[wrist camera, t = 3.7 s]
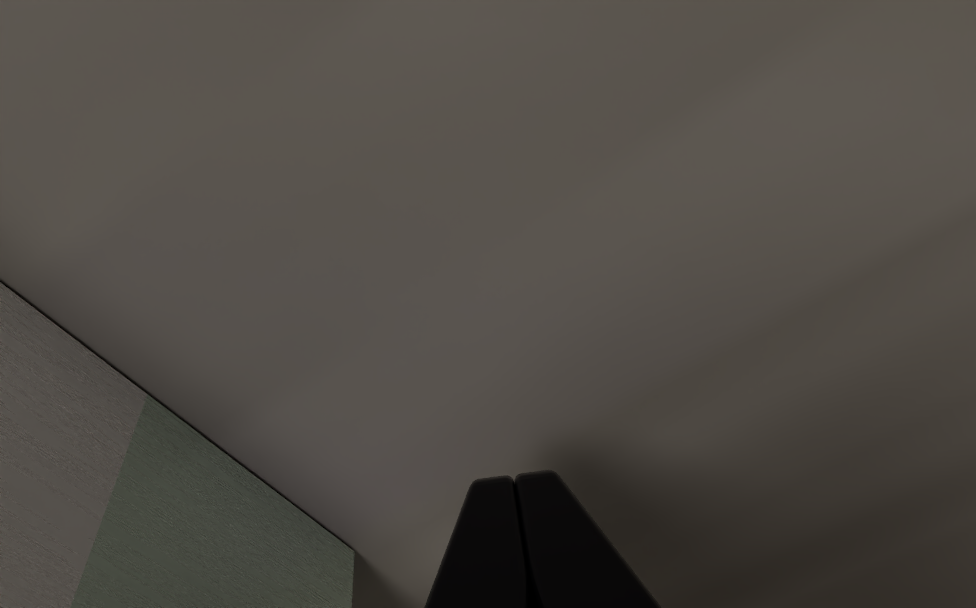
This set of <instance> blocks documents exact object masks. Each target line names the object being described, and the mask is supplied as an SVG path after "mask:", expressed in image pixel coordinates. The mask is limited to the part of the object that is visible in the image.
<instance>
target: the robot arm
mask: <svg viewBox="0 0 976 608" xmlns="http://www.w3.org/2000/svg"><path fill="white" fill-rule="evenodd" d="M514 484H515V485H514ZM425 608H661V607H660V605H659V604H658V603H657V601H656V600H655V599H654V598H653V596H652V595H651V594H650V592H649V591H648V590H647V588H646V587H645V586H644V585H643V583H642V582H641V581H640V579H639V578H638V577H637V576H636V574H635V573H634V572H633V570H632V569H631V568H630V567H629V565H628V564H627V563H626V561H625V560H624V559H623V557H622V556H621V555H620V554H619V552H618V551H617V550H616V548H615V547H614V546H613V545H612V543H611V542H610V541H609V539H608V538H607V537H606V536H605V534H604V533H603V532H602V530H601V529H600V528H599V526H598V525H597V524H596V523H595V521H594V520H593V519H592V517H591V516H590V515H589V514H588V512H587V511H586V510H585V508H584V507H583V506H582V504H581V503H580V502H579V501H578V499H577V498H576V497H575V495H574V494H573V493H572V492H571V490H570V489H569V488H568V486H567V485H566V484H565V483H564V481H563V480H562V479H561V477H560V476H559V475H558V474H557V473H556V472H554V471H552V470H545V471H537V472H529V473H521V474H519V475H517V476H516V478H515V481H513V479H512V478H511V477H510V476H498V477H490V478H482V479H477V480H475V481H473V482H472V484H471V485H470V487H469V490H468V492H467V495H466V498H465V500H464V503H463V506H462V508H461V511H460V514H459V516H458V519H457V522H456V525H455V527H454V530H453V533H452V535H451V538H450V541H449V543H448V546H447V549H446V551H445V554H444V557H443V559H442V562H441V565H440V567H439V570H438V573H437V575H436V578H435V581H434V584H433V586H432V589H431V592H430V594H429V597H428V600H427V602H426V605H425Z"/></svg>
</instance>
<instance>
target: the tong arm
mask: <svg viewBox="0 0 976 608" xmlns="http://www.w3.org/2000/svg"><path fill="white" fill-rule="evenodd" d="M353 571H354V551H353V550H352V549H350V548H349V547H348V546H346V545H345V544H344V543H343V542H341V541H340V540H339V539H337V538H336V537H335V536H333V535H332V534H331V533H329V532H328V531H327V530H325V529H324V528H323V527H321V526H320V525H319V524H318V523H316V522H315V521H314V520H312V519H311V518H310V517H308V516H307V515H306V514H304V513H303V512H302V511H300V510H299V509H298V508H296V507H295V506H294V505H293V504H291V503H290V502H289V501H287V500H286V499H285V498H283V497H282V496H281V495H279V494H278V493H277V492H275V491H274V490H273V489H271V488H270V487H269V486H268V485H266V484H265V483H264V482H262V481H261V480H260V479H258V478H257V477H256V476H254V475H253V474H252V473H250V472H249V471H248V470H246V469H245V468H244V467H243V466H241V465H240V464H239V463H237V462H236V461H235V460H233V459H232V458H231V457H229V456H228V455H227V454H225V453H224V452H223V451H221V450H220V449H219V448H218V447H216V446H215V445H214V444H212V443H211V442H210V441H208V440H207V439H206V438H204V437H203V436H202V435H200V434H199V433H198V432H196V431H195V430H194V429H192V428H191V427H190V426H189V425H187V424H186V423H185V422H183V421H182V420H181V419H179V418H178V417H177V416H175V415H174V414H173V413H171V412H170V411H169V410H167V409H166V408H165V407H164V406H162V405H161V404H160V403H158V402H157V401H156V400H154V399H153V398H152V397H150V396H149V395H148V394H146V393H145V392H144V391H142V390H141V389H140V388H139V387H137V386H136V385H135V384H133V383H132V382H131V381H129V380H128V379H127V378H125V377H124V376H123V375H121V374H120V373H119V372H117V371H116V370H115V369H114V368H112V367H111V366H110V365H108V364H107V363H106V362H104V361H103V360H102V359H100V358H99V357H98V356H96V355H95V354H94V353H92V352H91V351H90V350H89V349H87V348H86V347H85V346H83V345H82V344H81V343H79V342H78V341H77V340H75V339H74V338H73V337H71V336H70V335H69V334H67V333H66V332H65V331H64V330H62V329H61V328H60V327H58V326H57V325H56V324H54V323H53V322H52V321H50V320H49V319H48V318H46V317H45V316H44V315H42V314H41V313H40V312H39V311H37V310H36V309H35V308H33V307H32V306H31V305H29V304H28V303H27V302H25V301H24V300H23V299H21V298H20V297H19V296H17V295H16V294H15V293H14V292H12V291H11V290H10V289H8V288H7V287H6V286H4V285H3V284H2V283H0V608H352V591H353Z"/></svg>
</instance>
